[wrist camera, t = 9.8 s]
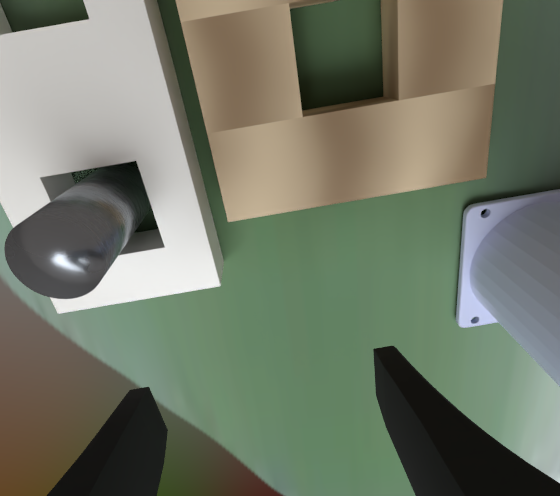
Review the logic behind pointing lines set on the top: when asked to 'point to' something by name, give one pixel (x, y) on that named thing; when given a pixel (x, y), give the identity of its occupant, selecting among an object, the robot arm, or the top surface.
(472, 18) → the socket block
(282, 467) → the top surface
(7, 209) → the tool rack
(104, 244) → the steel peg
